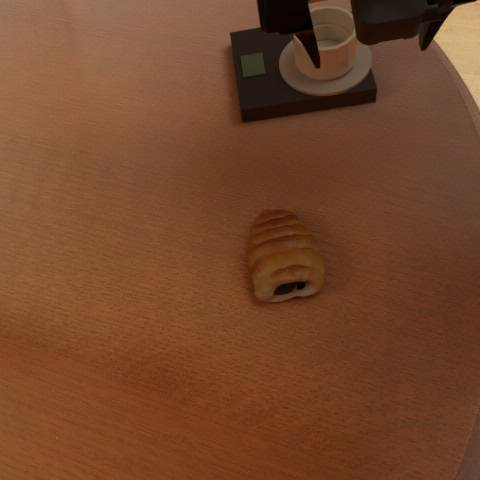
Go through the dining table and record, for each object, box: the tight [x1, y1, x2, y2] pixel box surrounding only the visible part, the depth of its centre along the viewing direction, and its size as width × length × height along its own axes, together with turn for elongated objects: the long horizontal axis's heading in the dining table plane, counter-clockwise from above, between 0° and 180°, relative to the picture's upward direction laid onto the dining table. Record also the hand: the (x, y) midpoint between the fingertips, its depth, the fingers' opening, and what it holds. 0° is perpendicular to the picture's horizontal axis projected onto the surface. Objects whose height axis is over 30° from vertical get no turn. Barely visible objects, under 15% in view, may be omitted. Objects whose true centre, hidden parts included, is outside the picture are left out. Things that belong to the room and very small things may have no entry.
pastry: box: [246, 208, 327, 304], centre depth 68 cm, size 9×7×4 cm
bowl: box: [293, 5, 358, 80], centre depth 77 cm, size 6×6×4 cm
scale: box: [229, 10, 378, 123], centre depth 81 cm, size 14×12×2 cm
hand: (369, 56), depth 67 cm, fingers open, 9 cm apart
